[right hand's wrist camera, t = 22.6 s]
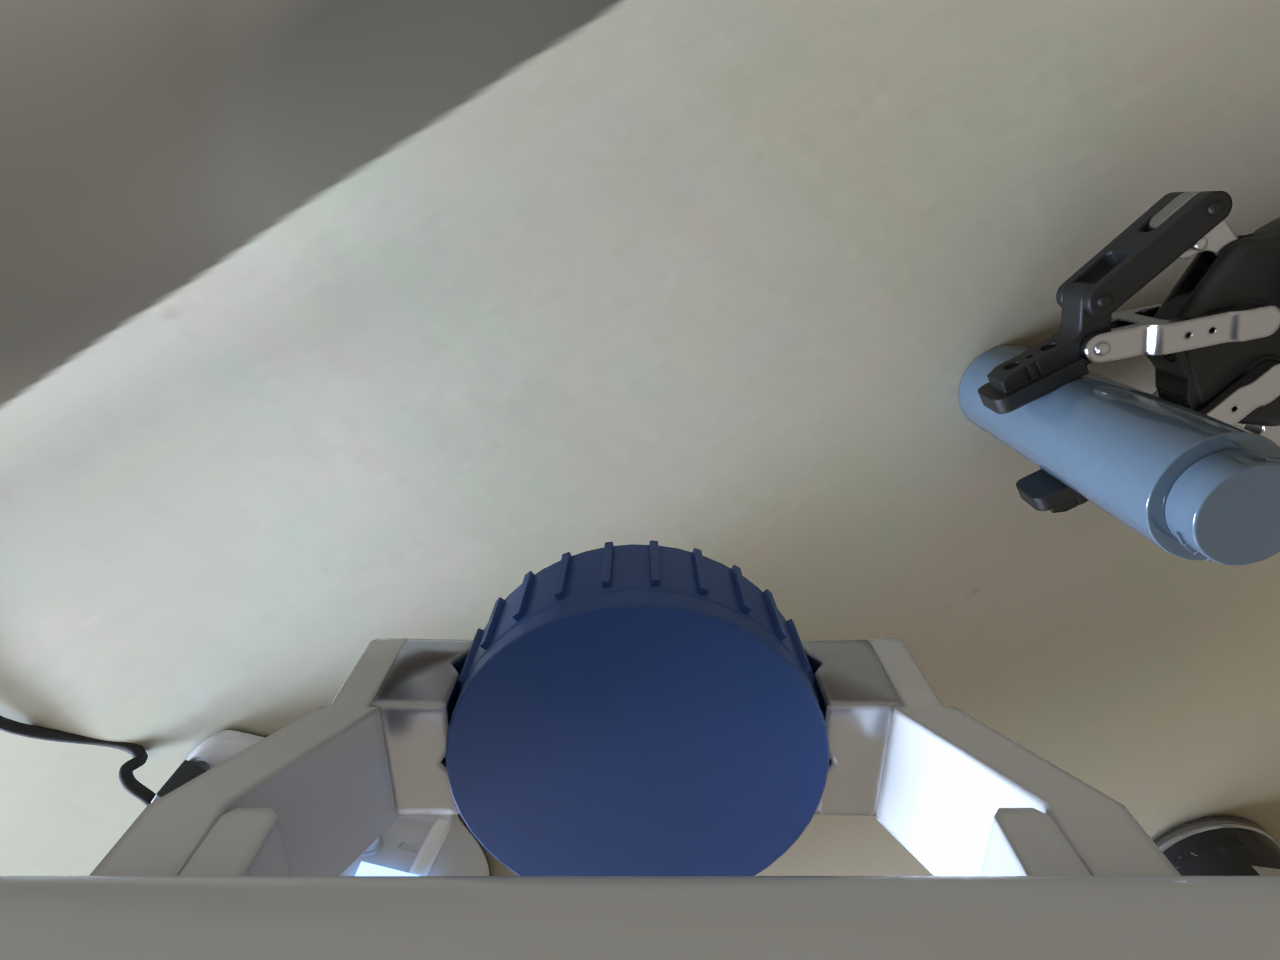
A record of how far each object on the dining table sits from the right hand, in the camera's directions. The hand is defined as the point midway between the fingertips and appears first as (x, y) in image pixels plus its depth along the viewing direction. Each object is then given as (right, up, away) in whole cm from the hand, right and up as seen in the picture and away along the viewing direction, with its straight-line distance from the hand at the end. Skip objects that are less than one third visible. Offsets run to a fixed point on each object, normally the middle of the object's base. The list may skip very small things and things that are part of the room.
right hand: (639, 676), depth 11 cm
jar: (+19, +8, +26) cm, 33 cm away
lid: (0, -1, -1) cm, 2 cm away
